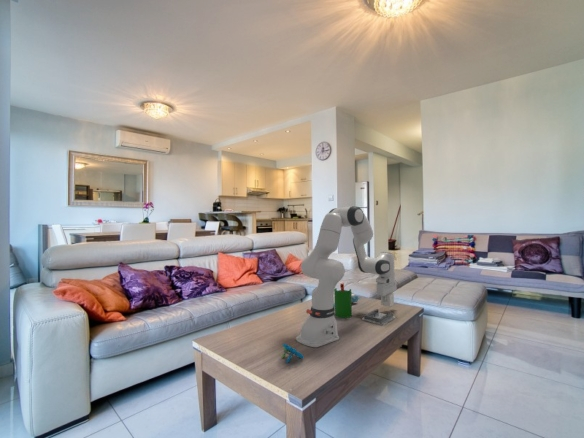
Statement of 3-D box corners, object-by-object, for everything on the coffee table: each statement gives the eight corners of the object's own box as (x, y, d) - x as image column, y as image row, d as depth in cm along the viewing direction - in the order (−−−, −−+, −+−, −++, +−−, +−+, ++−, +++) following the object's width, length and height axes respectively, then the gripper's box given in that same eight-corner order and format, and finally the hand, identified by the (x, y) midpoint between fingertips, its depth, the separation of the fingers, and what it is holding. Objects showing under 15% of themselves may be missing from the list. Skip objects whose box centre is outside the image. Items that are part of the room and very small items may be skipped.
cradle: (383, 325, 150) (383, 320, 150) (362, 319, 159) (362, 314, 159) (395, 318, 161) (395, 313, 161) (374, 313, 170) (374, 308, 170)
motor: (351, 313, 172) (350, 280, 172) (352, 318, 163) (351, 284, 163) (334, 312, 173) (333, 280, 173) (335, 317, 164) (334, 284, 164)
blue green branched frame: (309, 358, 114) (293, 345, 111) (301, 372, 111) (285, 359, 108) (294, 351, 123) (279, 339, 120) (287, 364, 120) (271, 352, 117)
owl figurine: (350, 285, 209) (367, 289, 198) (350, 296, 209) (368, 301, 198) (326, 292, 190) (343, 296, 179) (326, 304, 190) (343, 310, 179)
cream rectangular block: (390, 306, 167) (390, 295, 167) (380, 304, 171) (380, 293, 171) (393, 304, 170) (393, 293, 170) (384, 302, 175) (383, 291, 175)
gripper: (389, 275, 180) (390, 296, 180) (374, 279, 166) (374, 303, 166) (399, 276, 176) (399, 298, 176) (384, 281, 161) (384, 305, 161)
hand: (387, 300), depth 171 cm, fingers closed on cream rectangular block, 5 cm apart
